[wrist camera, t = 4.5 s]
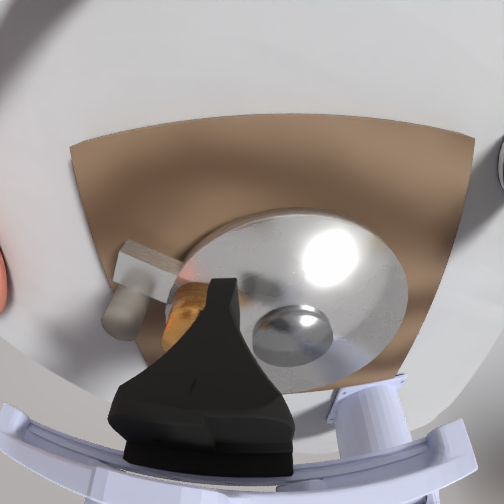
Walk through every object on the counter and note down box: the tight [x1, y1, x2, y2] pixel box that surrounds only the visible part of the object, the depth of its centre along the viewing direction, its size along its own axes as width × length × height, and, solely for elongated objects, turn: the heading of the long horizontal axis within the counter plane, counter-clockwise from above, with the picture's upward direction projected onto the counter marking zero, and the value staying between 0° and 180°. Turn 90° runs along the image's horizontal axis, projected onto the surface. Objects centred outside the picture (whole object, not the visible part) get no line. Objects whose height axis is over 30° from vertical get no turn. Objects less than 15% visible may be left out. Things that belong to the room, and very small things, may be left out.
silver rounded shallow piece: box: [113, 207, 408, 393], centre depth 14 cm, size 17×14×4 cm
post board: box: [70, 114, 475, 394], centre depth 16 cm, size 22×22×6 cm
